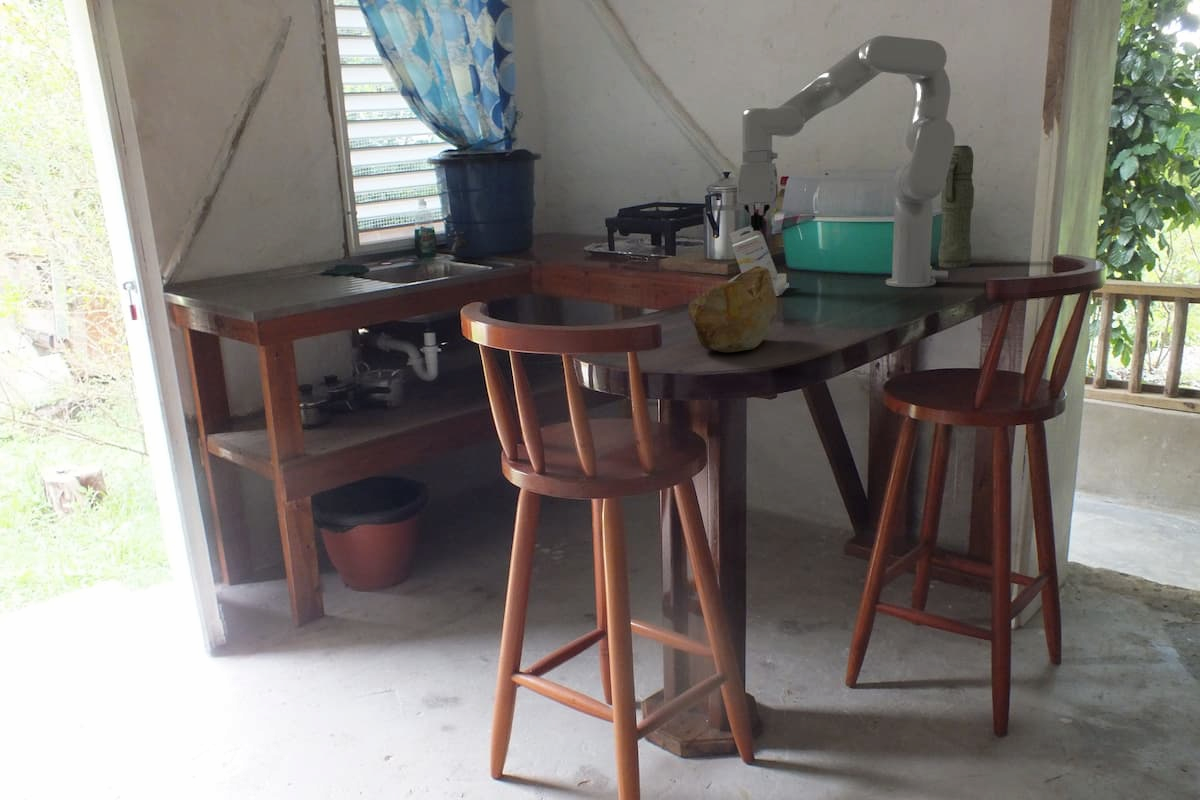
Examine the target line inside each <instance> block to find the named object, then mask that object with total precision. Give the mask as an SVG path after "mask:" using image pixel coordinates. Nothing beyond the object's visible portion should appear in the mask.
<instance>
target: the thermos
mask: <svg viewBox="0 0 1200 800" xmlns="http://www.w3.org/2000/svg"><path fill="white" fill-rule="evenodd" d="M973 171H974V151H973V147H971V146H969V145H954V148H953V153H952V157H951V162H950V166H949V170H948V174H947V178H946V182H945V185H944V187H943V189H942V191H941V200H940V208H941V211H942V213H941V214H942V217H941V235H940V236H941V237H940V243H939V246H938V258H937V259H938V267H940V268H952V269H953V268H954V269H955V268H965V267H969V266H970V261H971V258H972V257H971V256H972V244H971V239H970V237H971V224H972V223H971V221H972V219H971V218H972V210H973V209H974V199H975V198H974V197H975V196H974V195H975V187H974V184H973V178H972V177H973Z"/></svg>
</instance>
